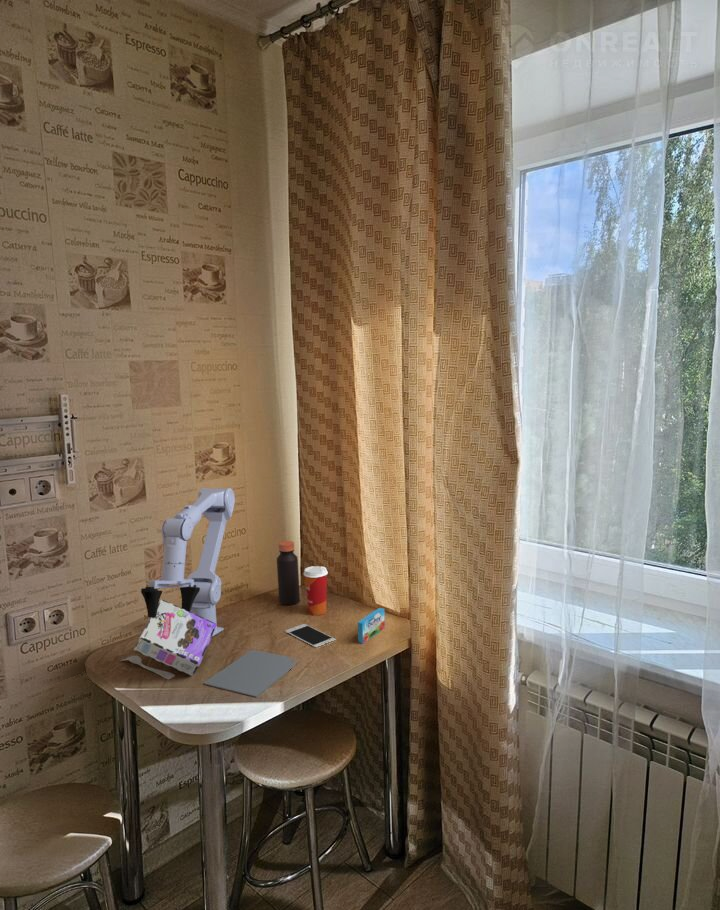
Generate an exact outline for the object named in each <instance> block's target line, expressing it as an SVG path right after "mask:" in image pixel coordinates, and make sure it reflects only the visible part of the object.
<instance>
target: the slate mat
mask: <svg viewBox="0 0 720 910" xmlns="http://www.w3.org/2000/svg"><path fill="white" fill-rule="evenodd" d="M291 658H292V659H293V661H295V660H296V659H297V661H300V660H301V659H300V660H299V658H295V659H294V657H291V656H290V657H289V656H286V655H280V654H276V653H271V652H267V651H266V652H265V651H262V650H257V649H251V650H249V651H248V652H246V653H245V654H243V655H242V656H240V657H239V658H238V659H236V660H234V662H232V663H230V664H228V666H226V667H224V668H223V669H222V670H220V671H218V672H217V673H216V674H215V675H213V676H212V677H210V678H209V679H207V680H206V681H204V682H203V683H202V684H203V685H205V686H209V687H213V688H216V689H217V688H218V689H220V690H224V691H225V690H226V691H229V692H233V693H237V694H241V695H244V696H249V697H253V698H258V697H259V696H260V695H262V694H263V693H264V692H265V691H267V689H269V688H270V687H272V686H273V685H274V684H275V683H277V682H278V681H279V680H280V679H282V677H284V676H285V675H286V674H288V673H289V672H290V671H291V670H292V669H294V668H295V667H296V666H297V665H296V664H295V663H296V662H295V663H292V659H291ZM290 661H291V662H290ZM289 662H290V663H289ZM295 665H296V666H295ZM294 666H295V667H294ZM293 667H294V668H293ZM291 668H292V669H291ZM290 669H291V670H290ZM289 670H290V671H289ZM288 671H289V672H288Z"/></svg>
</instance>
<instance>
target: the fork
mask: <svg viewBox="0 0 720 910" xmlns="http://www.w3.org/2000/svg"><path fill="white" fill-rule="evenodd" d="M125 658H126V659H125ZM125 658H124V659H121V660H120V662H123V661H129V662H131V663H132V664H135V665H139V666H140V667H142V668H144V669H146V670H148V671H150V672H153V673H155V674H157V675H159V676H161V677H162V678H164V679H166V680H170V679H172V678H175V677H176V674H174V673H172V672H170V671H166V670H161V669H157V668H154V667H150V666H147V665H145V664H143V663H142V658H141V657H140V656H138V655H131V656H128V657H125Z"/></svg>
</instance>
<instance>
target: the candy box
mask: <svg viewBox="0 0 720 910" xmlns="http://www.w3.org/2000/svg"><path fill="white" fill-rule="evenodd" d="M217 625H218V624H216V623H214V622H211V621H209V620H207V619H205V618H202V617H200V616H198V615H196V614H193V613H191V612H189V611H187V610H184V609H182V607H180V606H177V605H175V604H174V603H171V602H169V601H166V600H164V599H163V598H162V599H161V598H160V599H159V603H158V609H157V615H156V618H152V617H149V619H148V621H147V623H146V625H145V626H144V629H143V630H142V632H141V634H140V636H139V638H138V639H137V642H136V645H135V647H134V648H133V651H134V652H136V653H139V654H141V655H144V656H146V657H147V658H150V659H152V660H154V661H157V662H159V663H161V664H163V665H166V666H169V667H170V668H173V669H175V670H177V671H179V672H181V673H184V674H186V675H188V676H191V677H193V676H194V675H195V673H196V671H197V670H198V669H199V667H200V665H201V663H202V660H203V658H204V655H205V653H206V651H207V648H208V646H209V644H210V641H212V637H213V636H212V635H213V633H214V630H215V628H216V626H217ZM217 627H218V626H217Z"/></svg>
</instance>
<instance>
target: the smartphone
mask: <svg viewBox="0 0 720 910" xmlns="http://www.w3.org/2000/svg"><path fill="white" fill-rule="evenodd" d="M284 633H286V634H287V633H289V634H291V635H292V636H291V635H290V636H291V637H293V636H294V637H293V638H295V637H296V638H295V639H297V638H298V640H299V639H300V640H299V641H301V640H302V641H301V642H303V641H304V642H306V643H308V644H310V645H312V646H314V647H318V646H321V645H324V644H325V643H328V642H331V641H334V640H336V641H337V639H336V637H335V638H334V637H333V636H331V635H329V634H327V635H326V633H324V632H322V631H320V630H318V629H317V628H315V627H312V626H311V625H308V624H306V623H302V624H300V625H296V626H295V627H294V626H293V627H291V628H287V629H285V631H284ZM289 634H288V635H289ZM329 638H330V640H329ZM304 642H303V643H304ZM334 642H335V641H334ZM306 643H305V644H306ZM308 644H307V645H308ZM310 645H309V646H310ZM312 646H311V647H312ZM324 646H325V645H324ZM314 647H313V648H314Z"/></svg>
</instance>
